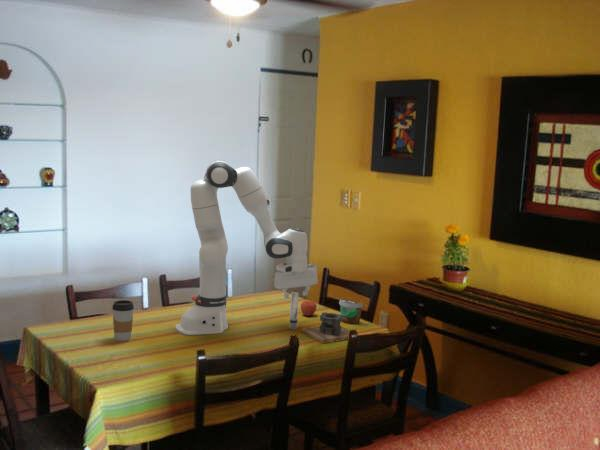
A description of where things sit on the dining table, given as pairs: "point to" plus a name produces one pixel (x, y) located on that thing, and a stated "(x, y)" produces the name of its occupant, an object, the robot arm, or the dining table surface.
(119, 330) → the coffee cup
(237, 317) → the dining table surface
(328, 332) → the collar stand
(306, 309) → the apple
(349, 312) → the food container
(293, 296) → the air tube
